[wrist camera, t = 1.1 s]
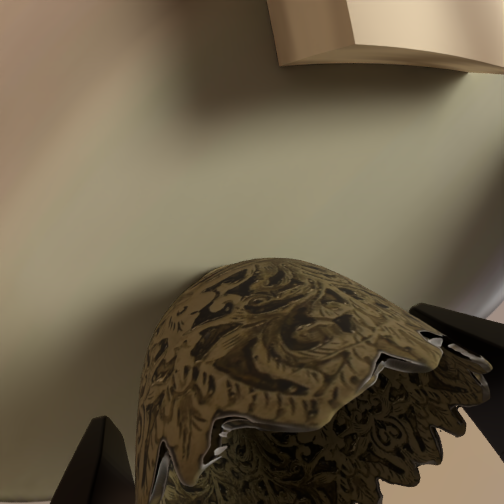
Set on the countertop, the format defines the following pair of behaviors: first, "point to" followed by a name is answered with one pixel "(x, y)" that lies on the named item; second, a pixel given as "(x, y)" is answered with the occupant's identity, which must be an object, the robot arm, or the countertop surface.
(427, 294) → the countertop surface
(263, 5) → the countertop surface
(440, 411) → the cup
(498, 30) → the pedestal
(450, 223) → the countertop surface
